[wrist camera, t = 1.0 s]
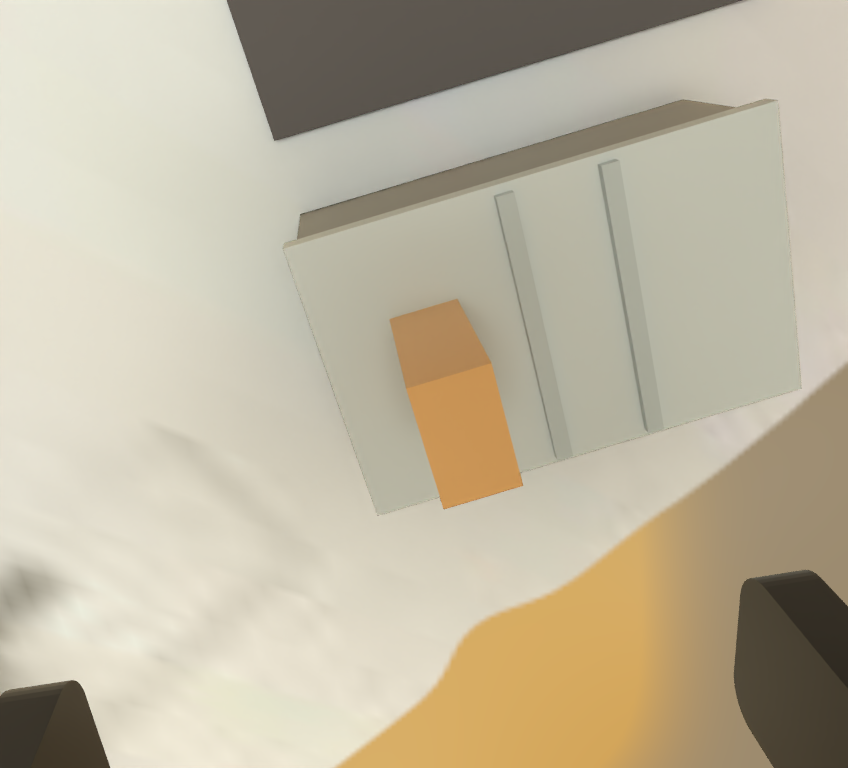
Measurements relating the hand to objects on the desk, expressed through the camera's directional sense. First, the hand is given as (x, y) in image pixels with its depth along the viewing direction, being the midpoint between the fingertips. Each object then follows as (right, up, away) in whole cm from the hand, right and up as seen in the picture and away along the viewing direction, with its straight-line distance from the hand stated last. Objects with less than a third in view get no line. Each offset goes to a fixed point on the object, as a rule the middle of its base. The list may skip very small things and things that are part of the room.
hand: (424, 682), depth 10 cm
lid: (+5, +6, +20) cm, 21 cm away
